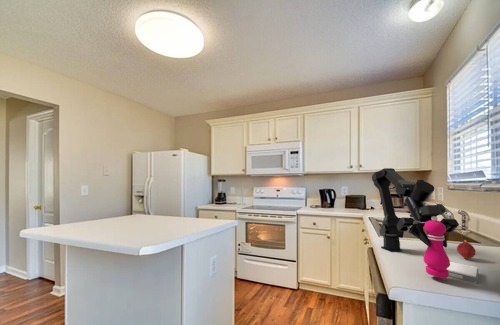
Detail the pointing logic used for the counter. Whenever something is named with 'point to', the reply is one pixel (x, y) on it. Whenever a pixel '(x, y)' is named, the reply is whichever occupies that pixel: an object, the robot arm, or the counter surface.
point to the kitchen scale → (463, 272)
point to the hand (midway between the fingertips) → (438, 246)
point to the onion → (466, 250)
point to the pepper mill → (436, 249)
